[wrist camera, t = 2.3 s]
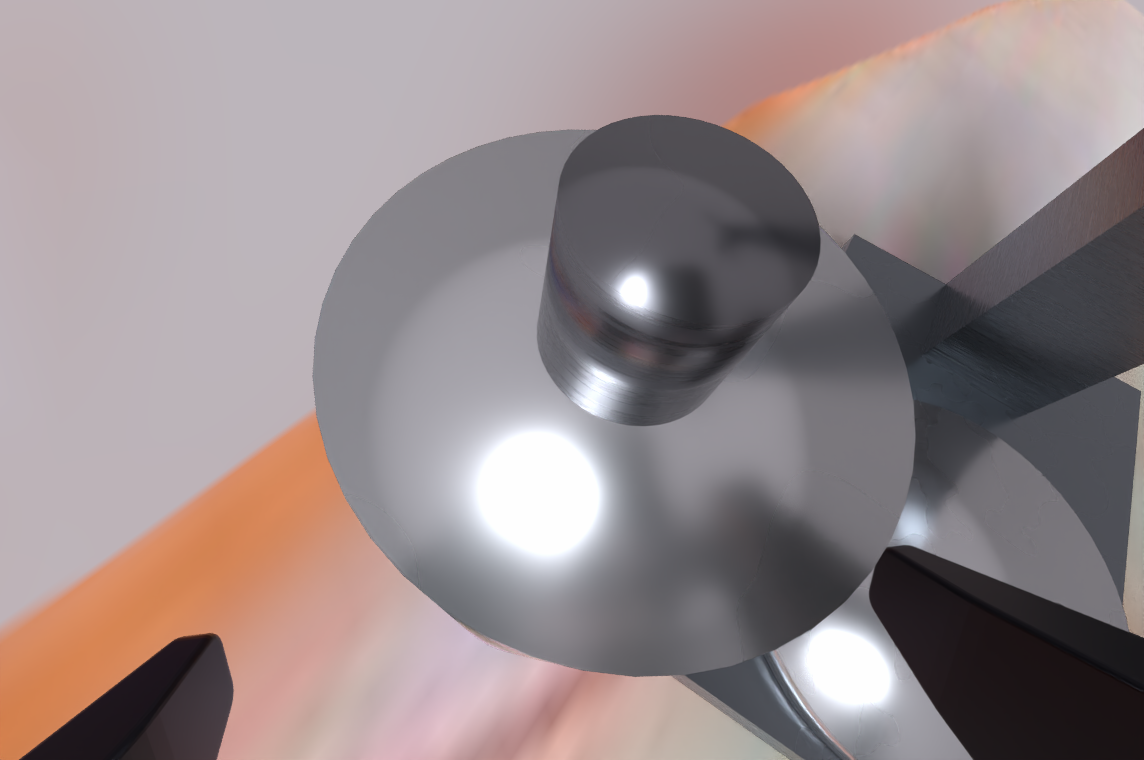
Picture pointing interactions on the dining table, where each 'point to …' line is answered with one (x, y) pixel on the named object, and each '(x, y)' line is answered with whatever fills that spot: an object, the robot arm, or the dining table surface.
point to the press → (984, 461)
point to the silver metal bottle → (616, 398)
